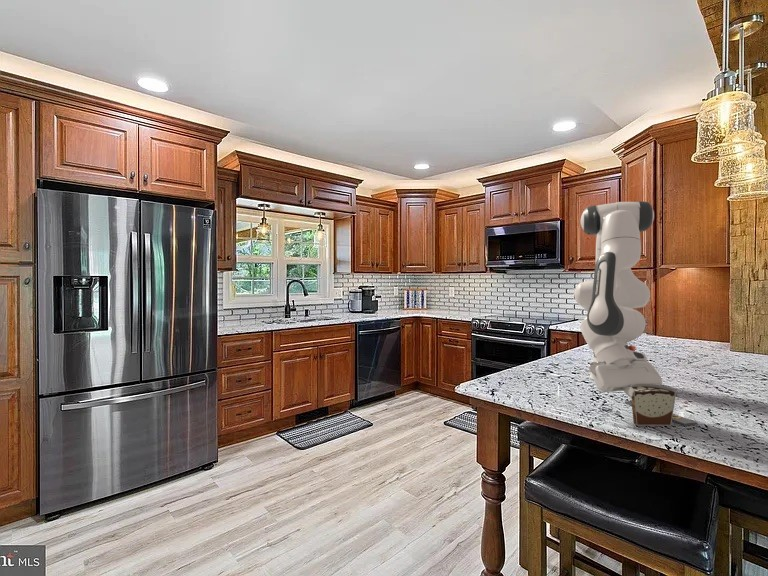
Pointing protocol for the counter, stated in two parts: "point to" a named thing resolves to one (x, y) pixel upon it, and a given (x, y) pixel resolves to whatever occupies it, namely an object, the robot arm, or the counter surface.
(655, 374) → the robot arm
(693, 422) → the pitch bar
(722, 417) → the counter surface
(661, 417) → the food container
